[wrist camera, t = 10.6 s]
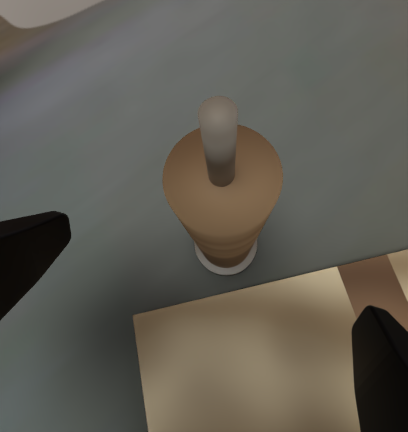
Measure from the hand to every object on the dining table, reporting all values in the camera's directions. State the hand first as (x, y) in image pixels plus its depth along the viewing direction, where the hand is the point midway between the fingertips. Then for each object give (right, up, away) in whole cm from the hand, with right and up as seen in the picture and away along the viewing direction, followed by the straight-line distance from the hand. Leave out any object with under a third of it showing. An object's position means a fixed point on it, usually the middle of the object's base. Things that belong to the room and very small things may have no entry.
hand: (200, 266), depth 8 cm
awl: (+2, -1, +10) cm, 10 cm away
